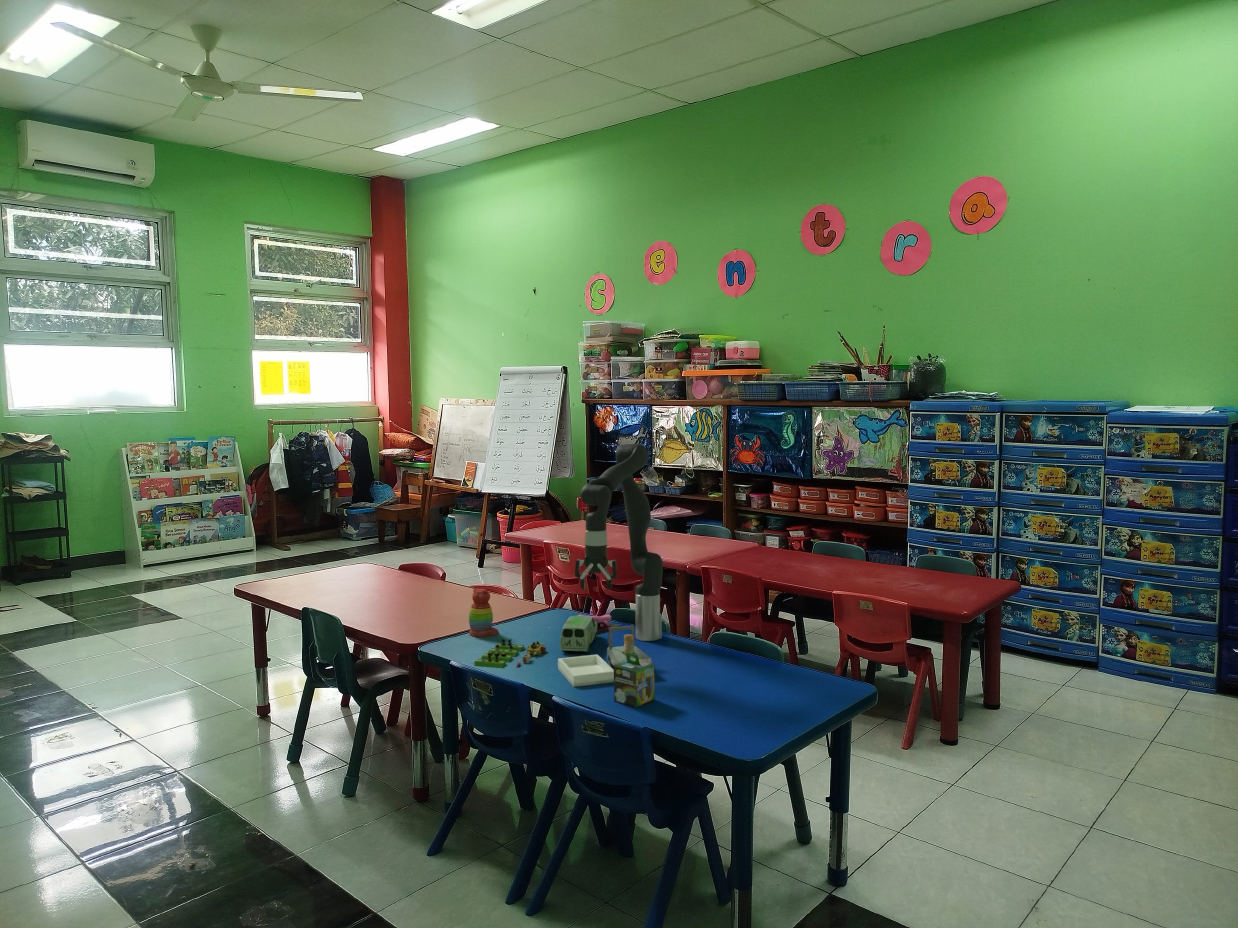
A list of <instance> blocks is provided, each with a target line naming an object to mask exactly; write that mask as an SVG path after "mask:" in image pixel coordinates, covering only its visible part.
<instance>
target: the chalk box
mask: <svg viewBox="0 0 1238 928" xmlns="http://www.w3.org/2000/svg"><path fill="white" fill-rule="evenodd" d="M631 656H632V657H634V658H635V659H634V658H630V657H631ZM626 658H627V660H624V661H621V662H620V663H617V664H615V665H614V666H613V667H612V668H613V670H614V682H613V702H617V703H621V704H624V705H628V706H629V707H634V708H639V707H641V706H643V705H644V704H646V703H650V702H651V701H653V700H655V699H656V697H655V663H654V662H653V661H651V662H649V661H644V660H639V658H638V655H636V654H632V653H628V652H626Z"/></svg>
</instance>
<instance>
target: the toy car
mask: <svg viewBox="0 0 1238 928" xmlns="http://www.w3.org/2000/svg"><path fill="white" fill-rule="evenodd" d="M589 616H590V615H584V616H577V615H570V616H569V617H568V619H567V620H566V621H565V623H564V624H563V626H562V628H561V633H560V637H559V638H560V639H559V651H562V652H567V651H569V652H571V651H572V652H584V653H588V652H589V651H590V649H591V648H590V647H591V644H592V643H593V640H597V635H596V632H598V630H597V622H595V621H594V619H593V617H589Z"/></svg>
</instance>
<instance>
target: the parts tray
mask: <svg viewBox="0 0 1238 928" xmlns="http://www.w3.org/2000/svg"><path fill="white" fill-rule="evenodd" d="M557 669H558V671H560V673H561V674H562V676H563V677H565V679H566V680H567V681H568V682H569V683H570V684H571V686H572V687H573V688H575V687H582V686H591V685H593V686H594V685H600V684H609V683H614V668H613V667H610V666H609V665H608V662H606V661H605V660H604V659H603V657H601V656H600V655H599V654H590V655H580V656H579V655H578V656H571V657H561V658H560V657H559V658H557Z"/></svg>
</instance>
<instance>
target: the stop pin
mask: <svg viewBox="0 0 1238 928" xmlns="http://www.w3.org/2000/svg"><path fill="white" fill-rule="evenodd" d="M623 643H624V644H623V646H624V655H626V652H628V653H632V654H633V635H632V634H629V633H628V634H627V633H626V634H624V635H623Z"/></svg>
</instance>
